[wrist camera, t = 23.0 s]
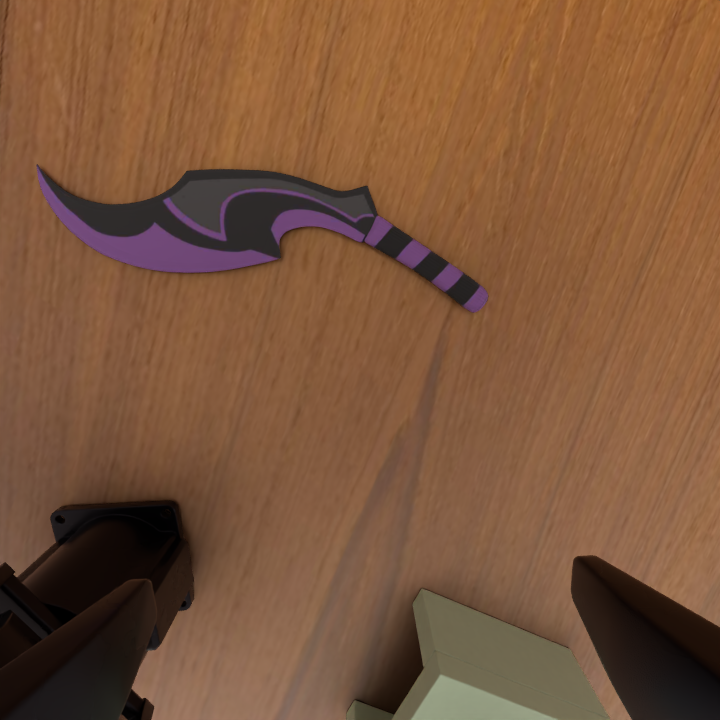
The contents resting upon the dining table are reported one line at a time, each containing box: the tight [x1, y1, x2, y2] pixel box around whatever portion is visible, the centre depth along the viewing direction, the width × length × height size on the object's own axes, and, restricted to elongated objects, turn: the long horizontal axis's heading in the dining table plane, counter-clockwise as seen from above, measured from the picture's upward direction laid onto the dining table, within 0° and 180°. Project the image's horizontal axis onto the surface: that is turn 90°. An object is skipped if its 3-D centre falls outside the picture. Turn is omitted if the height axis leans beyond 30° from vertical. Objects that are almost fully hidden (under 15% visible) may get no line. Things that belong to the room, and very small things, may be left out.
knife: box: [37, 165, 488, 313], centre depth 18 cm, size 21×1×5 cm
